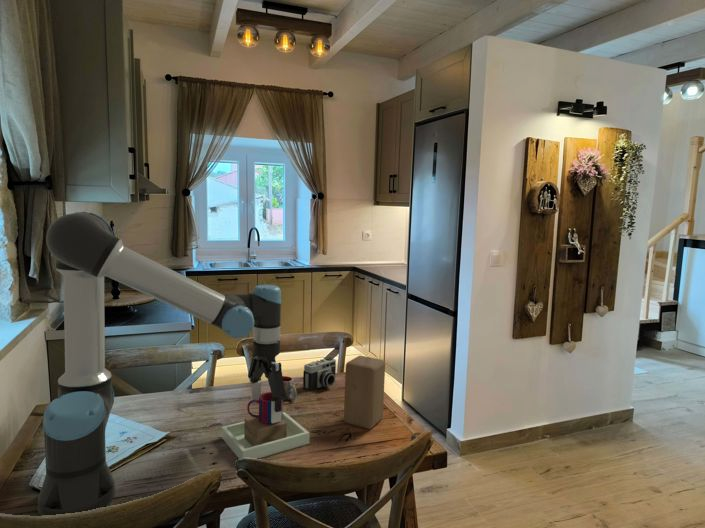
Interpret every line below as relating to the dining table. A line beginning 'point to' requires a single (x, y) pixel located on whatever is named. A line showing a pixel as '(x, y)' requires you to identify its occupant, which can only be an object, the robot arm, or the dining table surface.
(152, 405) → the dining table surface
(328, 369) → the camera
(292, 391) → the mug
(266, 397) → the cup
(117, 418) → the dining table surface
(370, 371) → the wooden block
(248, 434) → the walnut block
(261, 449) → the tray
